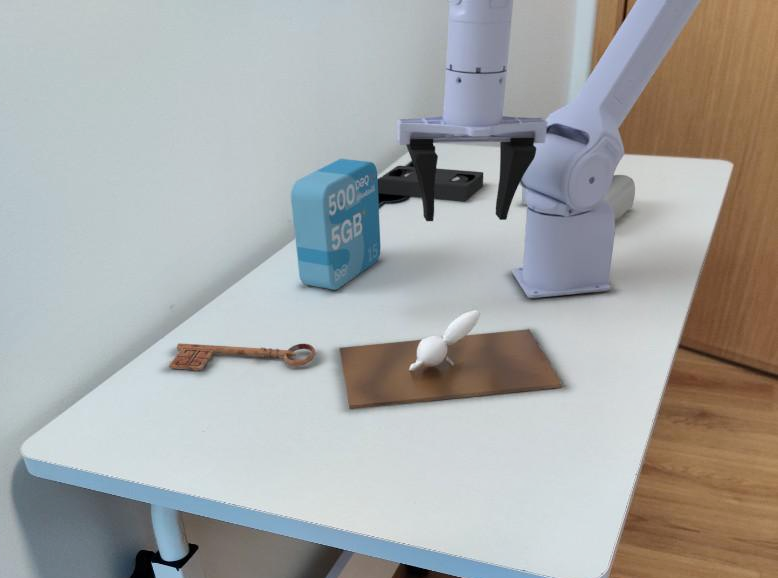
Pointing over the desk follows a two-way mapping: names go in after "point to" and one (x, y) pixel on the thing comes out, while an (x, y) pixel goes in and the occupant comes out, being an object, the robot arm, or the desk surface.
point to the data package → (336, 222)
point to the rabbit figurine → (444, 341)
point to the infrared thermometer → (615, 194)
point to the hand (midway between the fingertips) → (464, 217)
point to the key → (202, 357)
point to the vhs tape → (446, 185)
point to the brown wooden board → (446, 370)
